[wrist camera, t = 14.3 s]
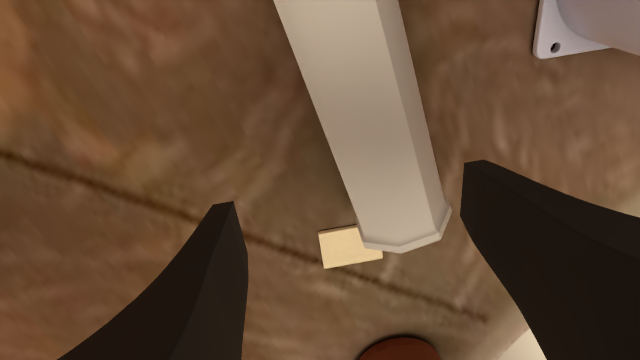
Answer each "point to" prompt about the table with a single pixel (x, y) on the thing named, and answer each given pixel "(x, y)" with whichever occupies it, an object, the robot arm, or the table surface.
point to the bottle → (401, 350)
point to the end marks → (344, 247)
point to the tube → (370, 116)
